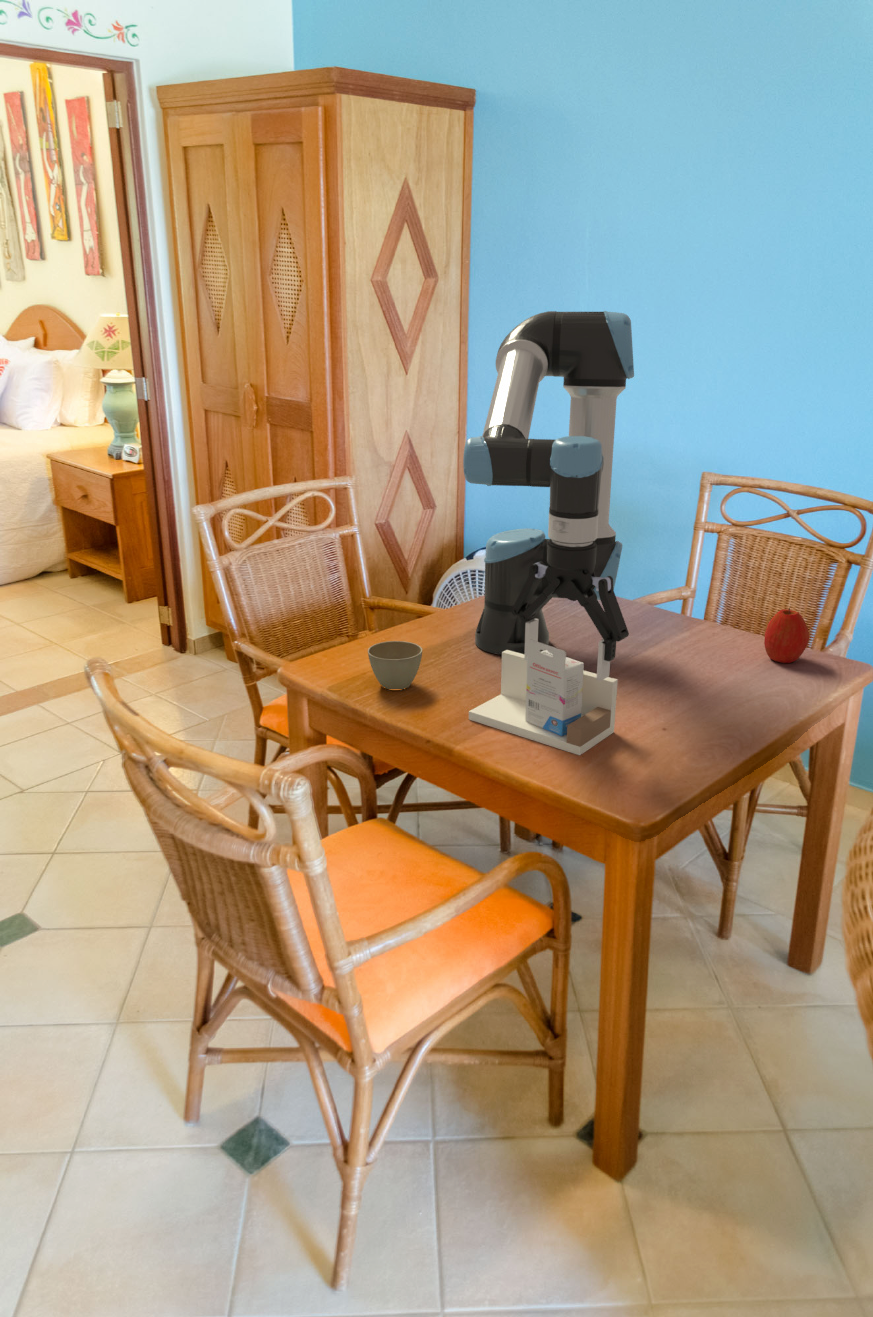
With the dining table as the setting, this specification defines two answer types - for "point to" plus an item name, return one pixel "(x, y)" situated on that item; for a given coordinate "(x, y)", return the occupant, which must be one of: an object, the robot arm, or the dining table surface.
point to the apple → (786, 636)
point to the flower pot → (395, 663)
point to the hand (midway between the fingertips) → (565, 667)
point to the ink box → (552, 688)
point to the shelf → (511, 718)
